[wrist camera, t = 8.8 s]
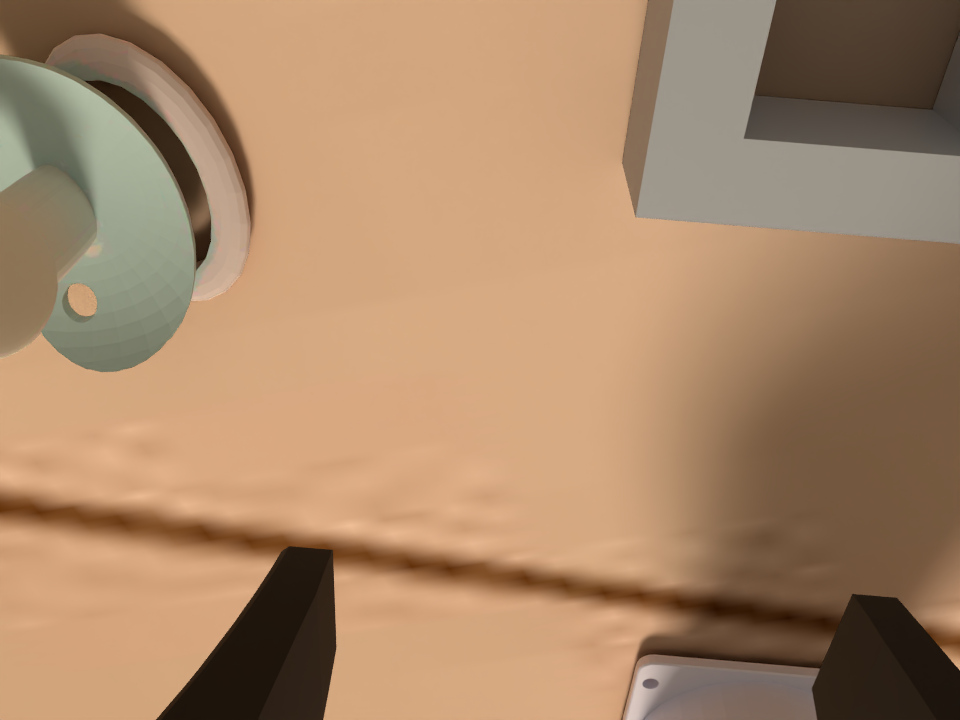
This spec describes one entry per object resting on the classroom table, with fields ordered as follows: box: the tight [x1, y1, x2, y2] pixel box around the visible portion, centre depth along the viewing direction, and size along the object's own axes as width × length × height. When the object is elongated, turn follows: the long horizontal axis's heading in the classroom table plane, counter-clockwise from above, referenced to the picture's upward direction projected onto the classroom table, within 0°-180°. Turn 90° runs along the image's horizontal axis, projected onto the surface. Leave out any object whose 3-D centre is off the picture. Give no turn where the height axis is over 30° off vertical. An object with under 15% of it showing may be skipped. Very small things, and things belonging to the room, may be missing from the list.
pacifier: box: [0, 33, 251, 372], centre depth 18 cm, size 7×6×6 cm
